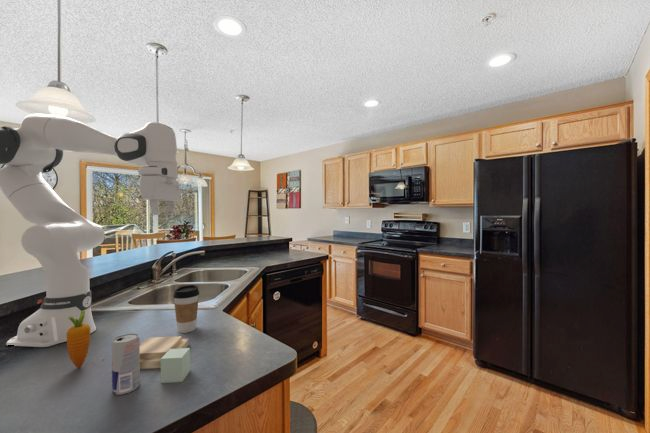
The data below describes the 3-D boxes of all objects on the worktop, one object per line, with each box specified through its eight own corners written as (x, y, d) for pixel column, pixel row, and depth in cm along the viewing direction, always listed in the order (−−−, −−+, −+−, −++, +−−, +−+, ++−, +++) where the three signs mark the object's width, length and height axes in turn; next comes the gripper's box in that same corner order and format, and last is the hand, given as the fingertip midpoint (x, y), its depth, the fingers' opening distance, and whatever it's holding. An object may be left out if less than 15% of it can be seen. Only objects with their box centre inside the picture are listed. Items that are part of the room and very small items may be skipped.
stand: (118, 370, 74) (118, 357, 74) (145, 347, 87) (145, 335, 87) (169, 367, 75) (169, 354, 75) (189, 344, 88) (188, 333, 88)
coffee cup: (204, 325, 104) (203, 284, 104) (191, 335, 95) (190, 291, 95) (183, 324, 104) (182, 284, 104) (168, 334, 96) (167, 290, 96)
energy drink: (121, 382, 68) (121, 333, 68) (144, 381, 69) (144, 332, 69) (106, 396, 63) (105, 343, 63) (131, 394, 64) (130, 342, 64)
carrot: (70, 375, 72) (69, 316, 72) (63, 369, 74) (62, 313, 74) (94, 366, 76) (93, 311, 76) (87, 361, 79) (86, 308, 79)
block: (160, 383, 68) (160, 358, 68) (170, 371, 73) (170, 348, 73) (182, 381, 69) (181, 357, 68) (190, 370, 74) (189, 347, 73)
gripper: (167, 177, 102) (168, 215, 102) (134, 167, 82) (136, 215, 82) (185, 177, 103) (186, 214, 103) (157, 167, 82) (158, 214, 82)
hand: (163, 214), depth 92 cm, fingers open, 8 cm apart
